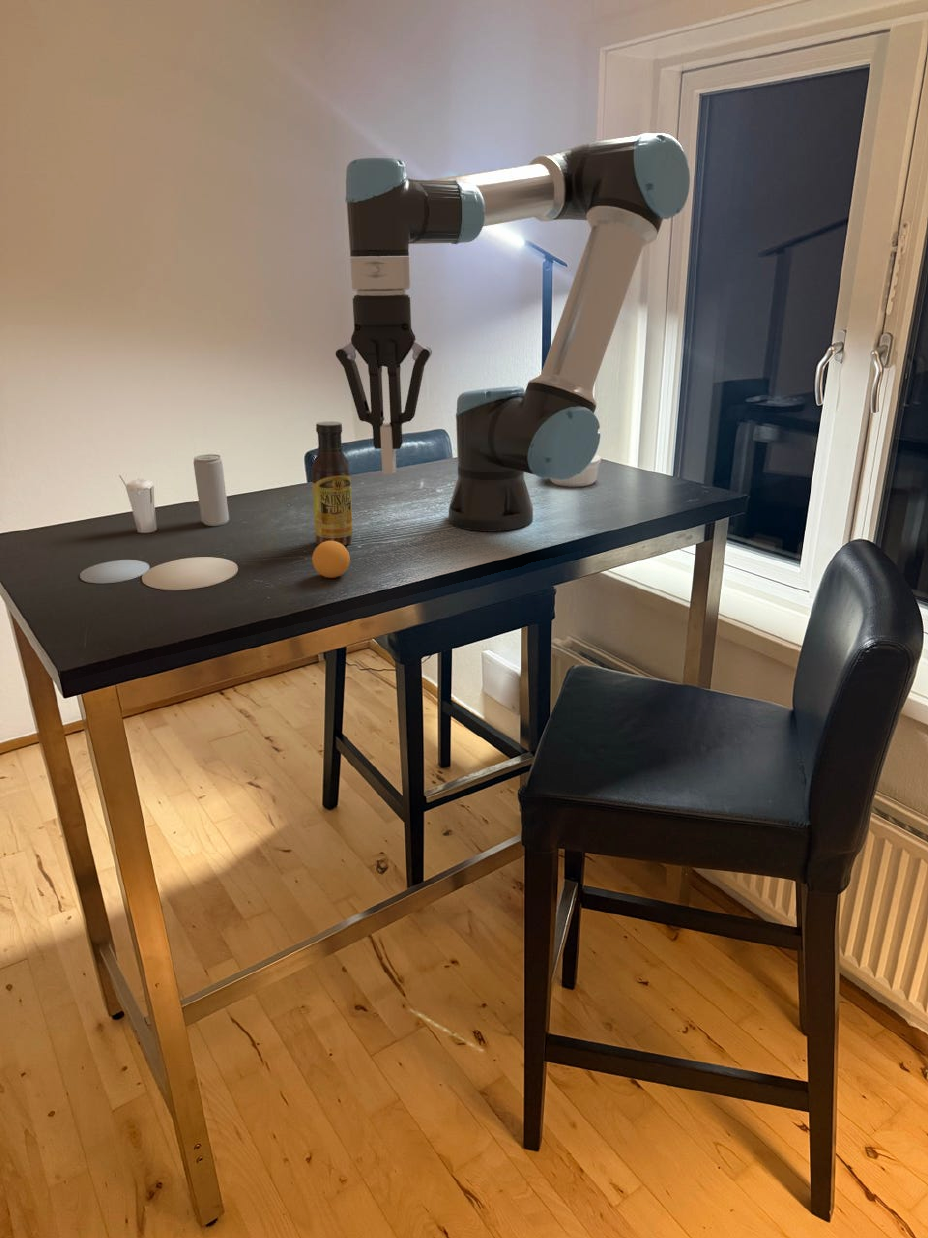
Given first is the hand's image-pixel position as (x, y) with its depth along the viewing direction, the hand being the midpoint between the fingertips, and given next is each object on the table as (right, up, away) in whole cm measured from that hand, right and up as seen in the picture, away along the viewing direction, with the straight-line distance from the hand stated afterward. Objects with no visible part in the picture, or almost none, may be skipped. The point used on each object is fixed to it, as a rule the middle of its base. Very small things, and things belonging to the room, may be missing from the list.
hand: (389, 471), depth 120 cm
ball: (-9, -12, +6) cm, 16 cm away
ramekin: (+33, +8, +58) cm, 68 cm away
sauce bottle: (-11, -8, +22) cm, 26 cm away
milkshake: (-46, -5, +30) cm, 55 cm away
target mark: (-31, -14, +9) cm, 35 cm away
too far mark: (-43, -14, +11) cm, 46 cm away
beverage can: (-34, -4, +34) cm, 48 cm away
